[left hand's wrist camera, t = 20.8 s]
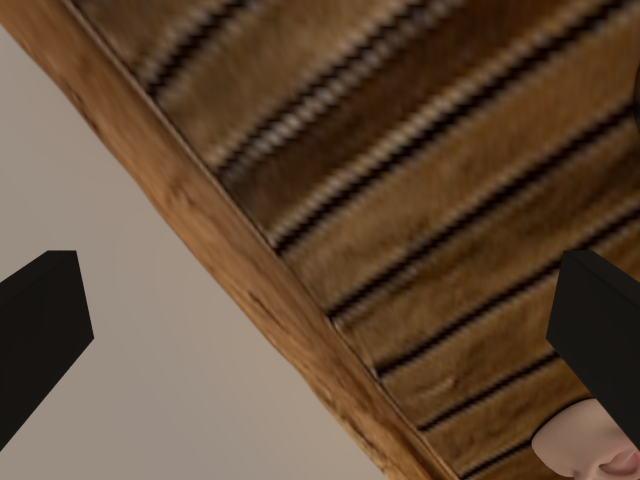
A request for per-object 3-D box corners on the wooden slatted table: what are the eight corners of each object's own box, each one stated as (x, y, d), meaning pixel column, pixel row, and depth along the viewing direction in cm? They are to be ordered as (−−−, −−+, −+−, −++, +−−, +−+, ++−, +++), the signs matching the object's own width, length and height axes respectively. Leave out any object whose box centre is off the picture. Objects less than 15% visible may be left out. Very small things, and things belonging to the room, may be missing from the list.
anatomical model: (532, 490, 47) (597, 406, 43) (516, 458, 50) (575, 379, 46) (640, 525, 48) (712, 447, 45) (617, 492, 52) (681, 418, 48)
